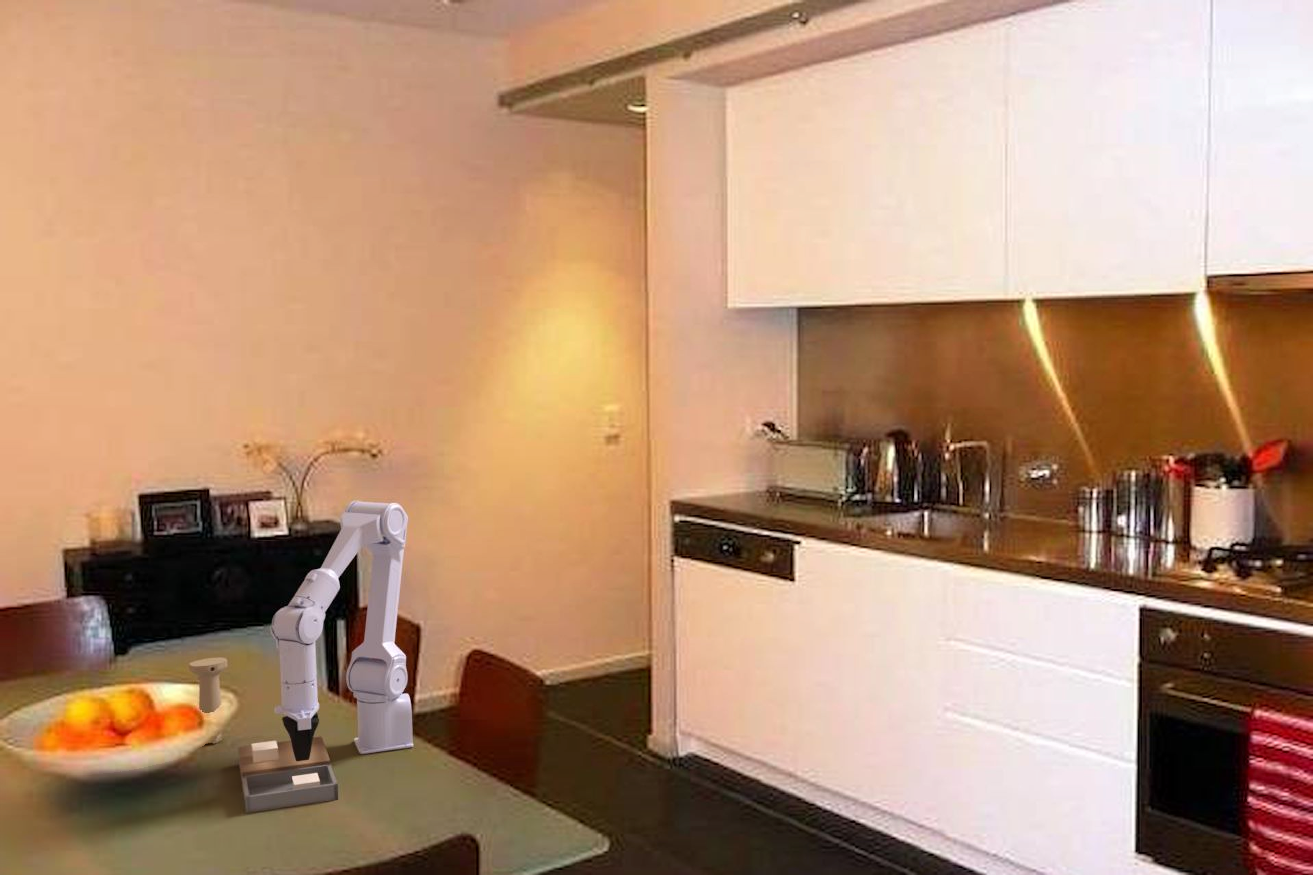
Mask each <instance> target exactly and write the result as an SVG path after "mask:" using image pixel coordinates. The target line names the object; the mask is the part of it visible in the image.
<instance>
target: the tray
mask: <svg viewBox="0 0 1313 875" xmlns="http://www.w3.org/2000/svg"><path fill="white" fill-rule="evenodd" d="M312 773H317V774H318V777H319V780H320V785H319V786H312V787H305V788H298V789H292V776H298V775H305V774H312ZM242 783H243V788H242V794H243V800H244V807H245V808H244V809H245V814H249V813H258V812H263V811H271V810H276V809H284V808H289V807H296V806H302V805H303V806H304V805H309V804H310V805H311V804H315V803H322V802H329V801H337V800H339V788H338V787H339V786H338V784H339V783H338V781H337V778H336V776H335V773H334V770H333V768H332V764H331V763H330V764H326V765H319V766H312V767H305V768H298V769H291V770H284V771H276V772H269V773H262V774H255V775H248V776H242V781H241V784H242Z"/></svg>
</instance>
